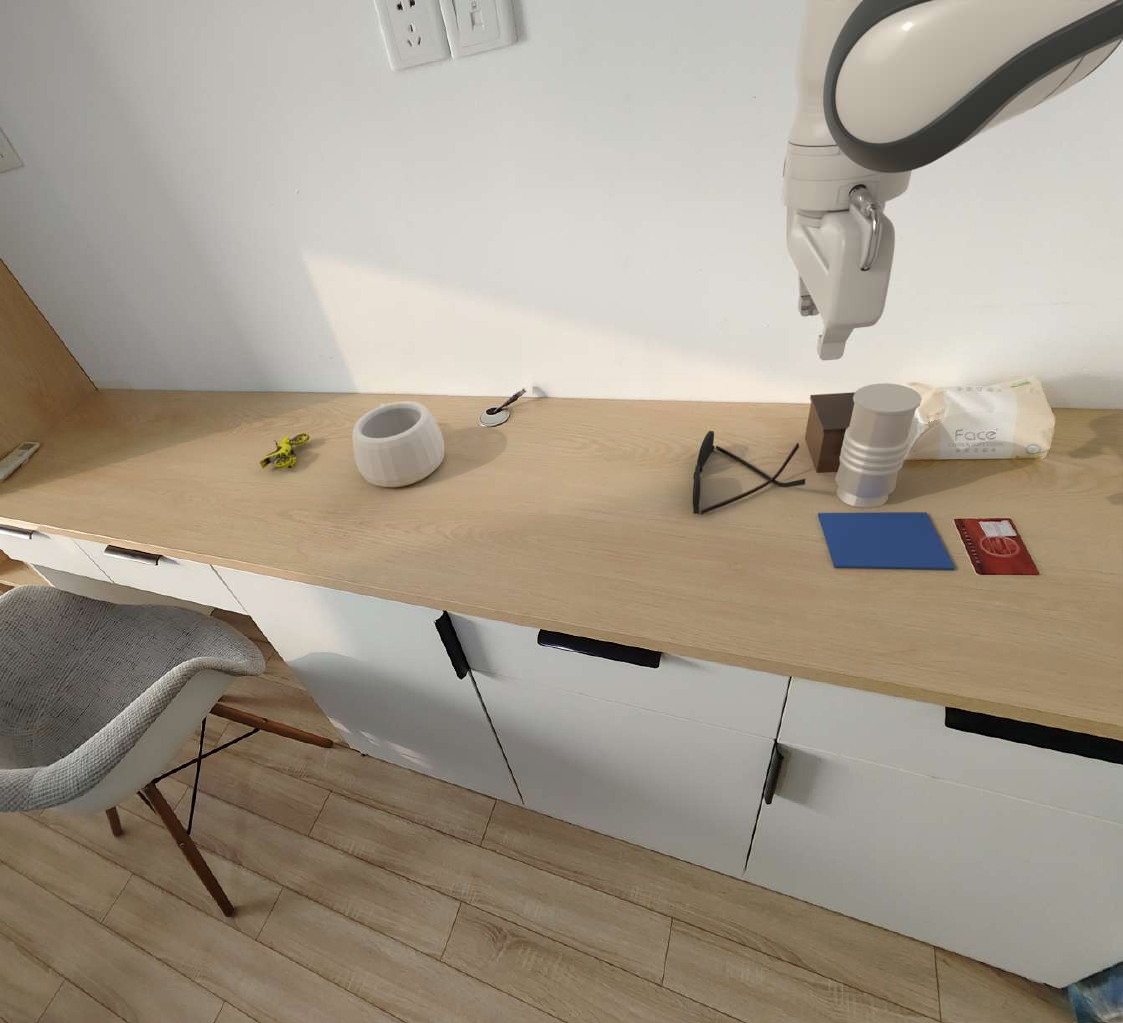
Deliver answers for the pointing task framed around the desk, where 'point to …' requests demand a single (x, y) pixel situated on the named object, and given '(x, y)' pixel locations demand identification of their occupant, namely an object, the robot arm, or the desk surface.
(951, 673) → the desk surface
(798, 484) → the sunglasses
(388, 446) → the white plant pot
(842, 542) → the cloth
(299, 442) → the toy motorcycle
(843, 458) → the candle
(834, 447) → the box
